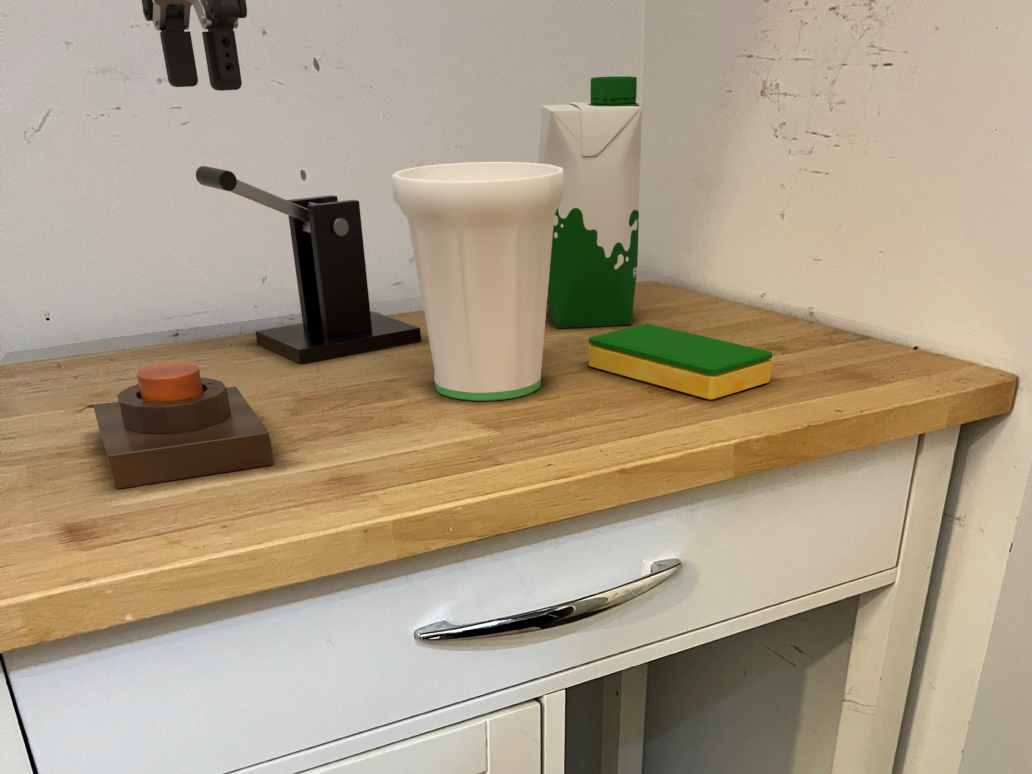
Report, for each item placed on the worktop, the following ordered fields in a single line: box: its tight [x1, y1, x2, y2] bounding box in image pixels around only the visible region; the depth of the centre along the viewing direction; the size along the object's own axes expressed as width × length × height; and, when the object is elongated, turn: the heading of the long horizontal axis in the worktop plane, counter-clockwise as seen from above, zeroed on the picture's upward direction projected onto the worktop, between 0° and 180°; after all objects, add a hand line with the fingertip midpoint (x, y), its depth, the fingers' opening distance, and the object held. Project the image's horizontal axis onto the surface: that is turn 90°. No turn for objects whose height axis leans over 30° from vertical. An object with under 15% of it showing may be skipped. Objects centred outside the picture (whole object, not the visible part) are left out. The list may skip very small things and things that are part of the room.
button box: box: [93, 376, 275, 490], centre depth 74 cm, size 12×10×4 cm
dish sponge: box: [588, 323, 773, 401], centre depth 87 cm, size 7×14×2 cm, turn 40°
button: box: [136, 362, 204, 401], centre depth 72 cm, size 4×4×2 cm
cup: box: [390, 161, 564, 402], centre depth 82 cm, size 12×12×15 cm
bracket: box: [254, 194, 422, 365], centre depth 96 cm, size 12×9×12 cm
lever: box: [195, 165, 317, 234], centre depth 91 cm, size 12×5×2 cm, turn 126°
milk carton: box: [537, 76, 643, 329], centre depth 100 cm, size 9×9×20 cm
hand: (205, 88), depth 84 cm, fingers open, 8 cm apart
